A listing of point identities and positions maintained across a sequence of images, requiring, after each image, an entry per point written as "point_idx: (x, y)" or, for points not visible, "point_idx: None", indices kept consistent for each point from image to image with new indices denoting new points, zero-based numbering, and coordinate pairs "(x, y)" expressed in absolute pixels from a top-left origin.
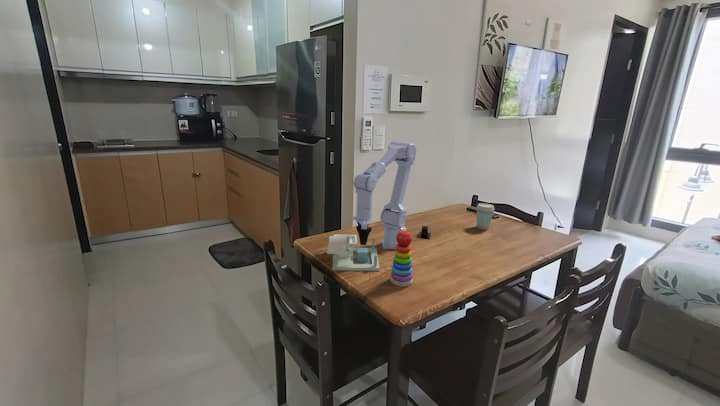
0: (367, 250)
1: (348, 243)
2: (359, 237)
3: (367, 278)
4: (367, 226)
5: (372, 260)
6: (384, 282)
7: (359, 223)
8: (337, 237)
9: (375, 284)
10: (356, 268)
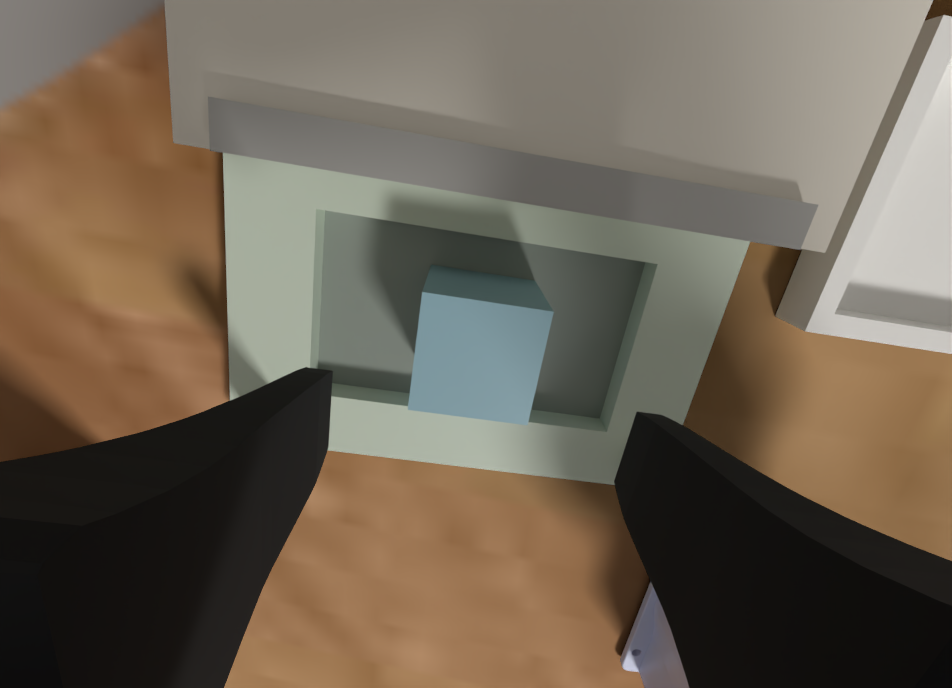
0: (461, 413)
1: (485, 179)
2: (201, 414)
3: (112, 302)
4: (690, 683)
5: (390, 410)
6: (65, 420)
7: (818, 609)
8: (863, 4)
9: (15, 347)
10: (230, 228)
